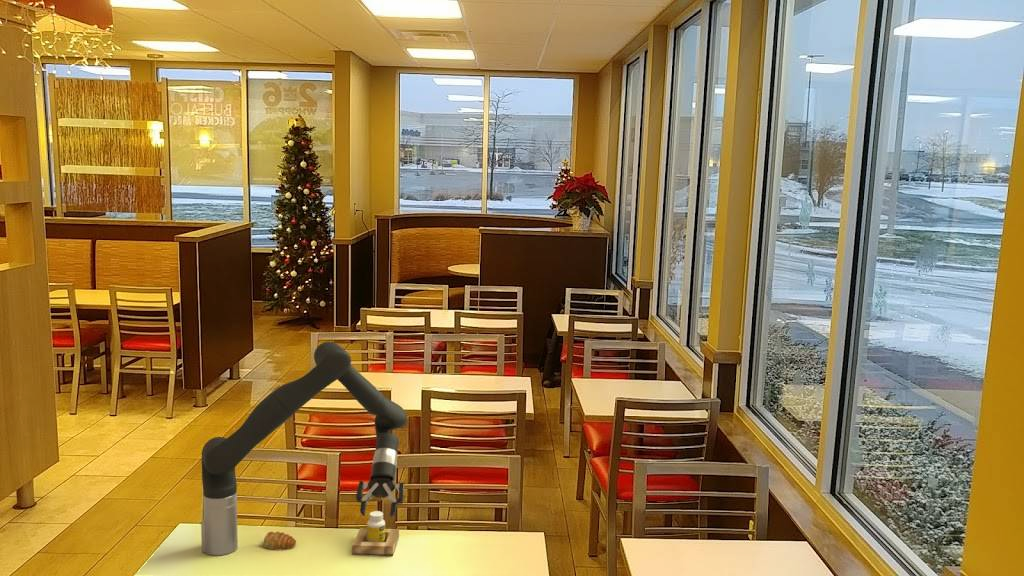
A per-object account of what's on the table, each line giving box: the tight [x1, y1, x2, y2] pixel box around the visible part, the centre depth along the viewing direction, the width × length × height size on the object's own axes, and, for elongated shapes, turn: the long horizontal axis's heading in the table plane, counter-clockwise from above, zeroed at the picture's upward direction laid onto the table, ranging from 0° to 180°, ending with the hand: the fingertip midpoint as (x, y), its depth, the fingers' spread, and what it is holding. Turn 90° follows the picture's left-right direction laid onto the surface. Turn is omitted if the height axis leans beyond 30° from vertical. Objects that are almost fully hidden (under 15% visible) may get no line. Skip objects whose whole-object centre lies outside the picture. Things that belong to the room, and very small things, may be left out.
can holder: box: [351, 527, 400, 557], centre depth 241 cm, size 12×12×3 cm
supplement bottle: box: [366, 510, 386, 542], centre depth 241 cm, size 5×5×10 cm
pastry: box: [262, 531, 297, 551], centre depth 240 cm, size 9×7×4 cm
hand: (377, 515), depth 242 cm, fingers open, 8 cm apart
